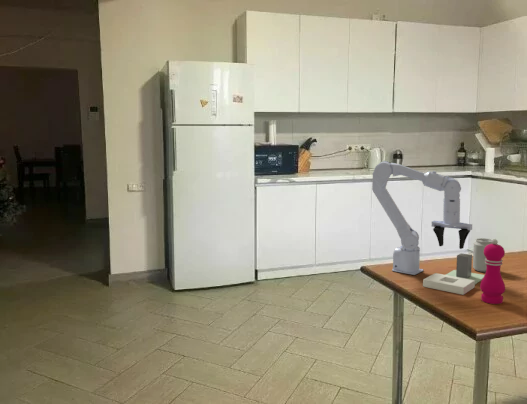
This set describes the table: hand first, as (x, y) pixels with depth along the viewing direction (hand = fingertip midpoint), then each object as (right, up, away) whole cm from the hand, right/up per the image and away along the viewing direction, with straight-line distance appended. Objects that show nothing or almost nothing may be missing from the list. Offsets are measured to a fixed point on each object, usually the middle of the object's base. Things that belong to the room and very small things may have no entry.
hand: (451, 247), depth 184 cm
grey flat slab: (-6, -13, -13) cm, 19 cm away
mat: (+4, -11, -3) cm, 12 cm away
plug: (+3, -10, -3) cm, 11 cm away
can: (+15, -10, +6) cm, 18 cm away
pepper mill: (+2, -15, -28) cm, 31 cm away
